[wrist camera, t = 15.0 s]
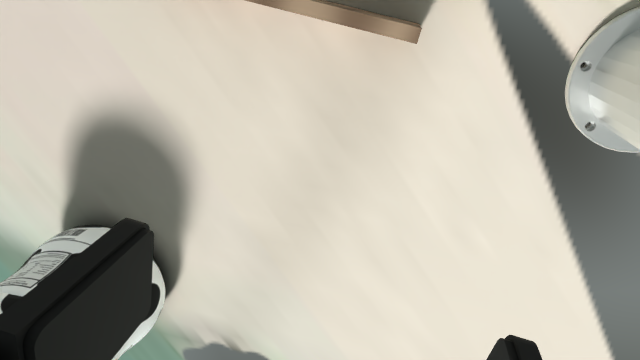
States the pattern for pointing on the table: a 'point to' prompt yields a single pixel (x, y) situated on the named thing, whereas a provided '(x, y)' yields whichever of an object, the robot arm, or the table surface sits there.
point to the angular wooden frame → (349, 17)
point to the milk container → (57, 255)
